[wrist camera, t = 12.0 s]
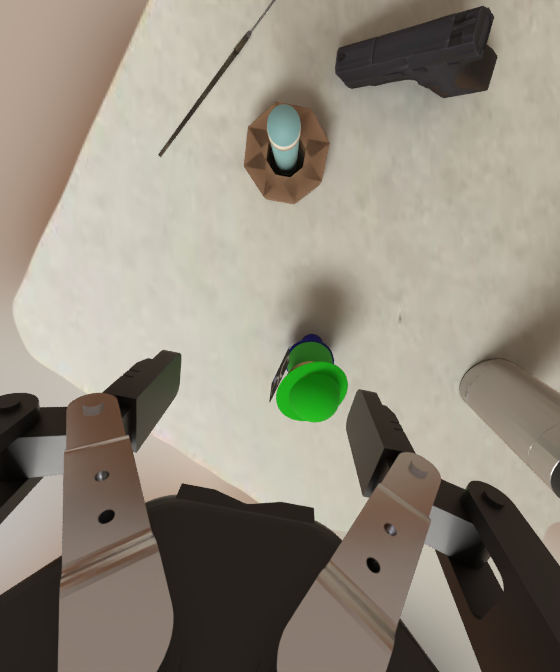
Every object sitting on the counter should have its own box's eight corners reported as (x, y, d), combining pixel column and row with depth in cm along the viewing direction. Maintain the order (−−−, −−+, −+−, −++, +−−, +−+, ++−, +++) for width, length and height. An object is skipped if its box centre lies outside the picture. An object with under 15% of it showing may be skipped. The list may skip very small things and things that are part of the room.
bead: (330, 126, 33) (335, 113, 29) (314, 208, 36) (316, 206, 33) (255, 111, 33) (251, 96, 29) (246, 195, 36) (240, 191, 32)
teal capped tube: (299, 152, 34) (304, 107, 21) (295, 176, 35) (297, 148, 22) (277, 147, 34) (269, 100, 21) (274, 172, 35) (264, 141, 22)
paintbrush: (158, 154, 35) (157, 153, 35) (307, -49, 28) (308, -54, 27) (162, 158, 35) (160, 157, 35) (311, -44, 28) (311, -48, 27)
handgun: (487, 93, 29) (481, 40, 22) (366, 111, 37) (330, 76, 29) (497, 57, 28) (495, -11, 21) (371, 83, 36) (335, 39, 28)
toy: (293, 317, 42) (295, 362, 28) (344, 338, 43) (370, 392, 29) (271, 364, 45) (263, 427, 31) (319, 383, 46) (332, 452, 32)
